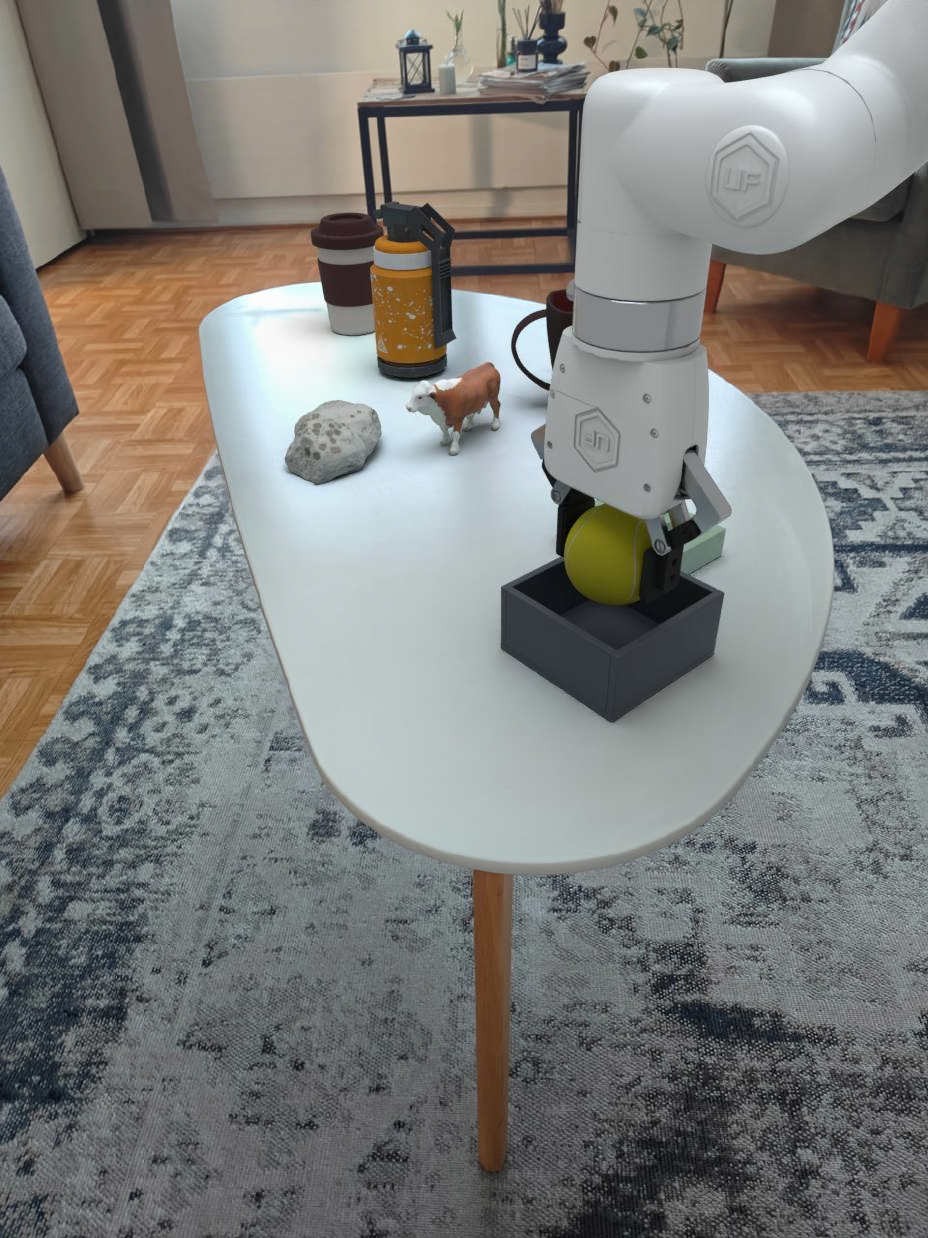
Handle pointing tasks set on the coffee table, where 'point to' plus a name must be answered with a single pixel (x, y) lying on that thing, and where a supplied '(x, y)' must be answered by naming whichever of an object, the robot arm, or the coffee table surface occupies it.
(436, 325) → the canister
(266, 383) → the coffee table surface
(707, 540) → the push button base
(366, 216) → the coffee cup
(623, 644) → the bin
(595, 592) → the tennis ball
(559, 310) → the mug
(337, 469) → the decorative stone
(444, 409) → the bull figurine
